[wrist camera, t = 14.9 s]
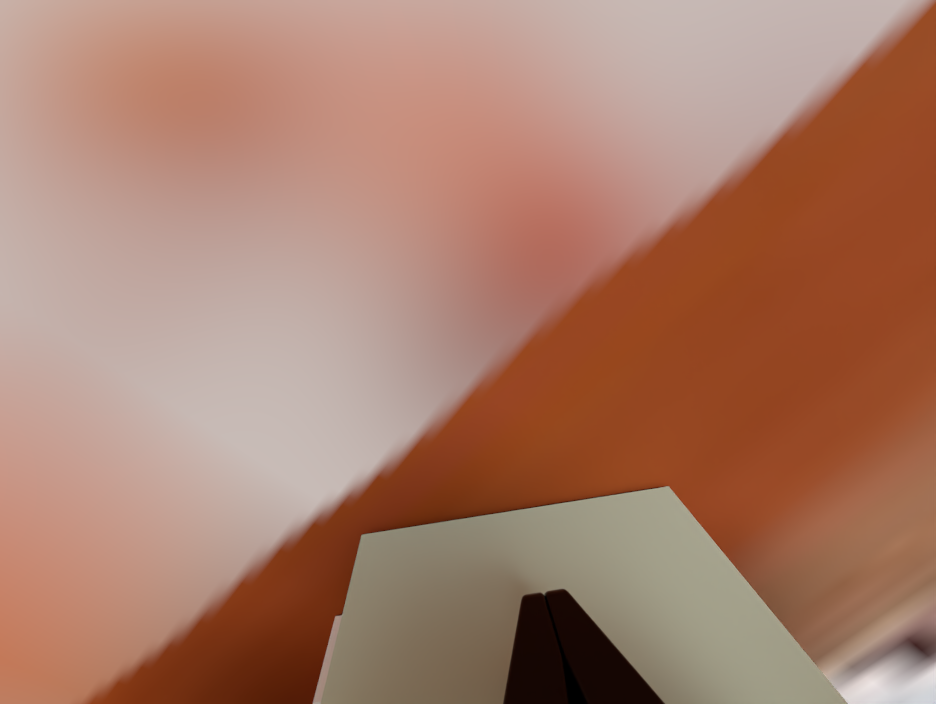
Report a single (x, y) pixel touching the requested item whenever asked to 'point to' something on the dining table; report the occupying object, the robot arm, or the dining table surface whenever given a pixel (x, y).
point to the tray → (588, 581)
